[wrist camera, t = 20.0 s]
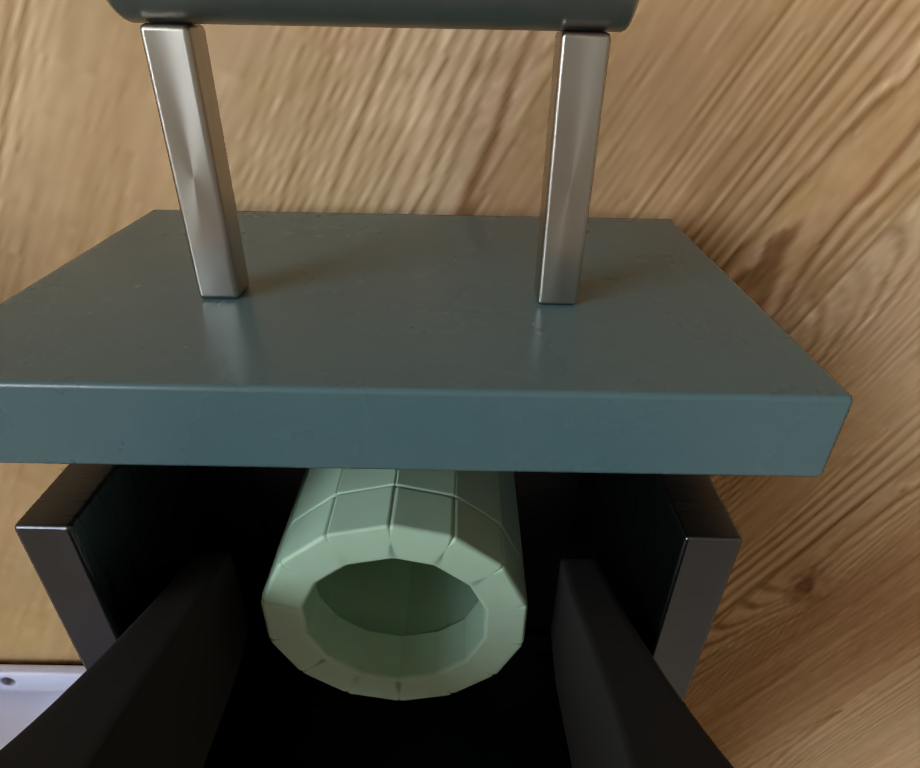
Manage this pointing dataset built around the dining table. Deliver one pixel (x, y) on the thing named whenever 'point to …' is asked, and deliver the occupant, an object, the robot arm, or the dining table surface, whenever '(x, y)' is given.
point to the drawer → (396, 396)
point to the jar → (399, 580)
